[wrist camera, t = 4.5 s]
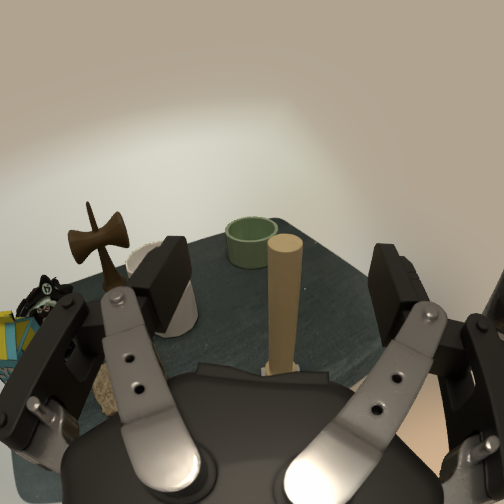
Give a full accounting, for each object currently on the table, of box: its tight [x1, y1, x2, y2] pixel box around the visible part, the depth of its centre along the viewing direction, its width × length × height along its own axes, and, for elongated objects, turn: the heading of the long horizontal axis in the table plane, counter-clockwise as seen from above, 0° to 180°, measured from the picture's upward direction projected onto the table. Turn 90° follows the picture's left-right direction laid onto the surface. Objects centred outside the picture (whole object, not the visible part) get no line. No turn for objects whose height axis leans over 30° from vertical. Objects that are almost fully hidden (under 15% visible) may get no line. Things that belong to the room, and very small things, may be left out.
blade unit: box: [261, 234, 303, 376], centre depth 30 cm, size 5×5×20 cm
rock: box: [93, 363, 118, 416], centre depth 30 cm, size 10×8×8 cm
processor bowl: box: [225, 217, 278, 269], centre depth 58 cm, size 10×10×6 cm
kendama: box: [68, 202, 130, 292], centre depth 42 cm, size 6×10×20 cm, turn 123°
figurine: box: [16, 275, 73, 350], centre depth 37 cm, size 10×15×14 cm
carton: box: [0, 311, 67, 384], centre depth 25 cm, size 7×8×18 cm
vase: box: [125, 241, 198, 338], centre depth 41 cm, size 9×9×12 cm
